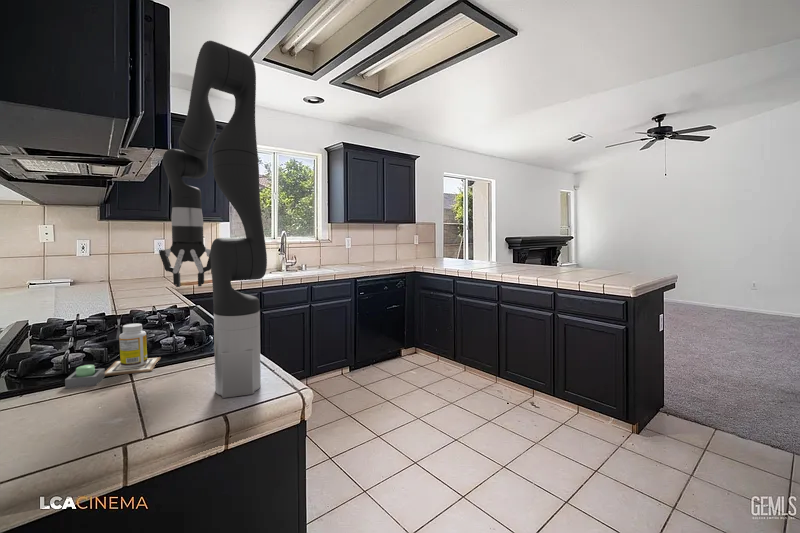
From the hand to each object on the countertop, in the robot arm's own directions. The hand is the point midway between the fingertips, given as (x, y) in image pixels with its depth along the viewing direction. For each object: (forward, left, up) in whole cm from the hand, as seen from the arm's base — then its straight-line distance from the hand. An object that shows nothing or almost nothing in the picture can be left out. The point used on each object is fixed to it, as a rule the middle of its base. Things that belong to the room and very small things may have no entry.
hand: (189, 286), depth 103 cm
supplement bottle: (-7, +12, -19) cm, 23 cm away
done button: (-15, +19, -18) cm, 30 cm away
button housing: (-15, +19, -19) cm, 31 cm away
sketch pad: (-7, +12, -19) cm, 24 cm away
